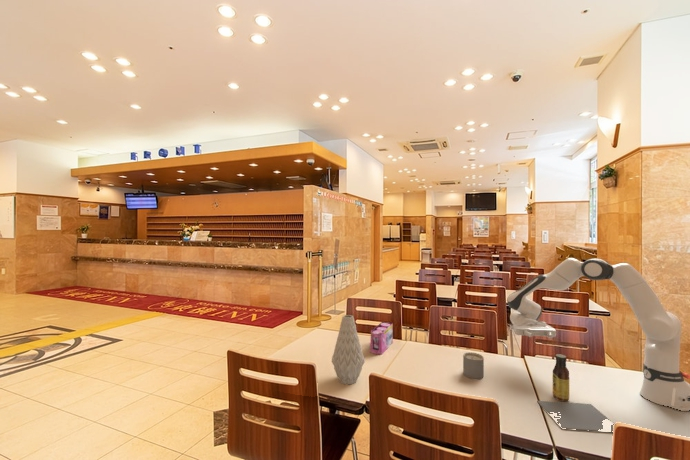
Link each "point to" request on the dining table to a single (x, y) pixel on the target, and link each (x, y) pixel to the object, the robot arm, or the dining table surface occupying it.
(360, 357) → the vase
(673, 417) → the dining table surface
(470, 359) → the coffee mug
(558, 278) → the robot arm
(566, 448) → the dining table surface
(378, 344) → the pink multipack
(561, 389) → the sauce bottle
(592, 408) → the placemat
